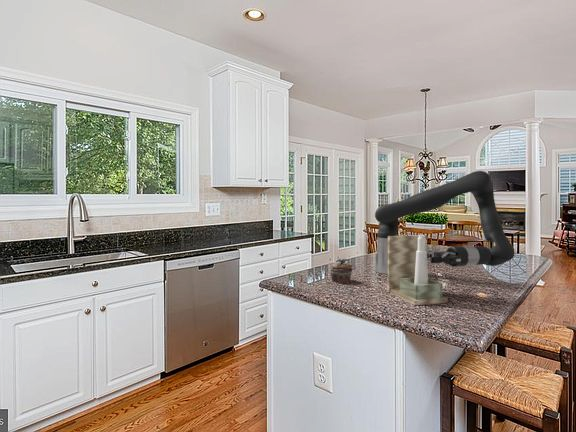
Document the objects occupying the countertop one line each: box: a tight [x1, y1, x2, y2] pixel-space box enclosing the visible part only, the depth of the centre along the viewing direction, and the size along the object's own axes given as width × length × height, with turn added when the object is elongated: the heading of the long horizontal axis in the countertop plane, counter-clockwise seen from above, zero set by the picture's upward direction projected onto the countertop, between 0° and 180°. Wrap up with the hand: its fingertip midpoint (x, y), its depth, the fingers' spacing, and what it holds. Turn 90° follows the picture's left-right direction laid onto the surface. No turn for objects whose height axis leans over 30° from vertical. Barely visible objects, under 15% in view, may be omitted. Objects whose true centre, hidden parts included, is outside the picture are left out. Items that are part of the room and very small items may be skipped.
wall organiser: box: [386, 234, 448, 306], centre depth 134 cm, size 16×18×22 cm
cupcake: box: [329, 258, 353, 284], centre depth 159 cm, size 10×10×10 cm
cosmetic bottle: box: [414, 234, 429, 285], centre depth 131 cm, size 6×6×22 cm
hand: (423, 258), depth 131 cm, fingers open, 8 cm apart
